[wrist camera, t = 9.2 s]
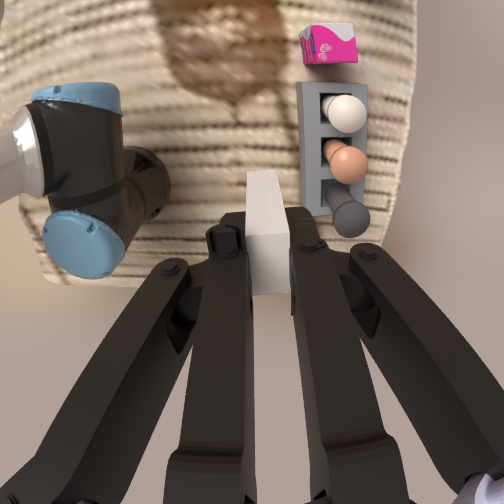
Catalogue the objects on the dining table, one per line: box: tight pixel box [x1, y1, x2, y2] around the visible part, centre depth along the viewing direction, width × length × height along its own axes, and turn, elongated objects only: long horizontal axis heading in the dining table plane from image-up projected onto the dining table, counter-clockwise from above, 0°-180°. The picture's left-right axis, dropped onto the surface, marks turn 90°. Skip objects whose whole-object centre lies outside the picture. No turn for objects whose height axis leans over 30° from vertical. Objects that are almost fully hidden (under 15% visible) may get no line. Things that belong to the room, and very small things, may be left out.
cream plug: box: [320, 94, 366, 133], centre depth 37 cm, size 5×5×9 cm
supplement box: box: [299, 23, 358, 64], centre depth 33 cm, size 6×6×12 cm
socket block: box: [296, 82, 367, 216], centre depth 44 cm, size 10×22×6 cm, turn 5°
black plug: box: [324, 183, 370, 238], centre depth 42 cm, size 5×5×9 cm
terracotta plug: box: [321, 137, 368, 184], centre depth 40 cm, size 5×5×9 cm
